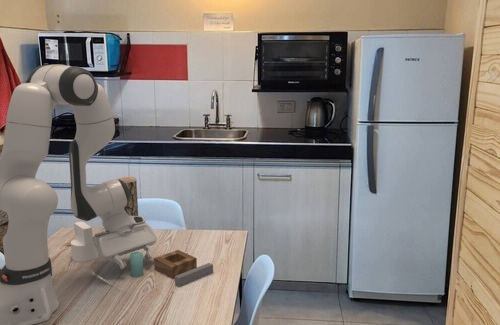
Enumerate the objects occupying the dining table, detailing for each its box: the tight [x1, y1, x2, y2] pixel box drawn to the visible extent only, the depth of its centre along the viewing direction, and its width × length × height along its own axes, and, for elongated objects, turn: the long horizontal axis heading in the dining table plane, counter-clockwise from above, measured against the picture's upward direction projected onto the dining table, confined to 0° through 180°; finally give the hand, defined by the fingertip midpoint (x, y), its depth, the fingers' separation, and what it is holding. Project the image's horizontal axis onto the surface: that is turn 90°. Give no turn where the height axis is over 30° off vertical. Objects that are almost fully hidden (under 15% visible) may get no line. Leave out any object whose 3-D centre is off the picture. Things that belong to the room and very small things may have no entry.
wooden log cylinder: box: [119, 176, 139, 216], centre depth 182 cm, size 7×7×25 cm
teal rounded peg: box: [129, 251, 144, 278], centre depth 152 cm, size 4×4×8 cm
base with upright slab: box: [70, 220, 99, 263], centre depth 168 cm, size 9×9×12 cm
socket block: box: [153, 249, 198, 279], centre depth 156 cm, size 10×10×4 cm
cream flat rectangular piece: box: [174, 262, 214, 288], centre depth 156 cm, size 14×20×4 cm
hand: (137, 263), depth 152 cm, fingers open, 8 cm apart
